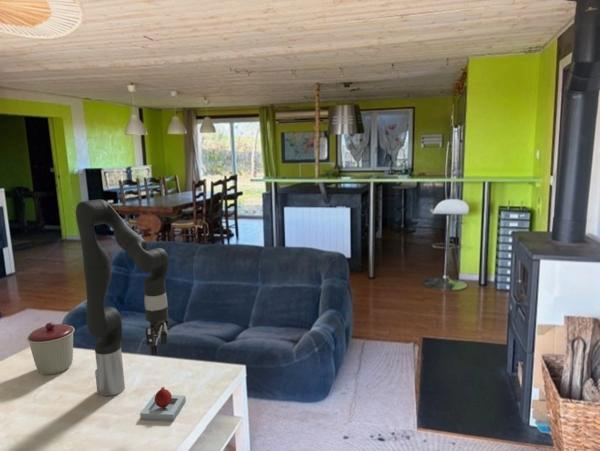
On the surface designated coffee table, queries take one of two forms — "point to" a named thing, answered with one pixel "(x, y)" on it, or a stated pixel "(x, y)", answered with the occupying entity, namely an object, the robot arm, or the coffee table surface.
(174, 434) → the coffee table surface
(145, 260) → the robot arm
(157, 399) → the onion
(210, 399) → the coffee table surface
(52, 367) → the canister
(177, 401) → the base plate
